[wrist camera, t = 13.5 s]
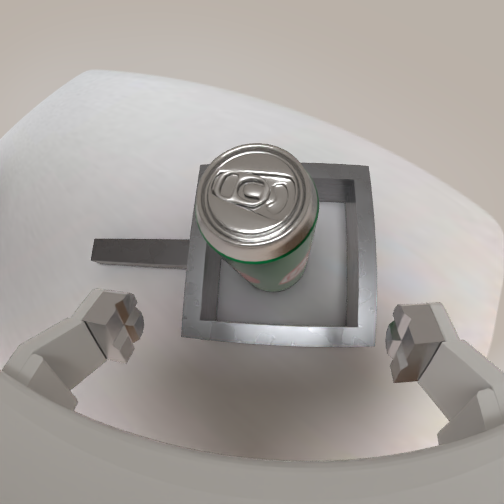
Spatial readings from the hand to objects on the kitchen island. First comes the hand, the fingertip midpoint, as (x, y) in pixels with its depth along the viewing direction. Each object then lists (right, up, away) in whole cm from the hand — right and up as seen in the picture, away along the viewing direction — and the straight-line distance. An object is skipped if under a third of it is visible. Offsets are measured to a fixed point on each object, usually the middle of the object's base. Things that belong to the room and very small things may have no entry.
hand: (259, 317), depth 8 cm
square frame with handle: (-3, +1, +14) cm, 15 cm away
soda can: (+1, +1, +14) cm, 14 cm away
